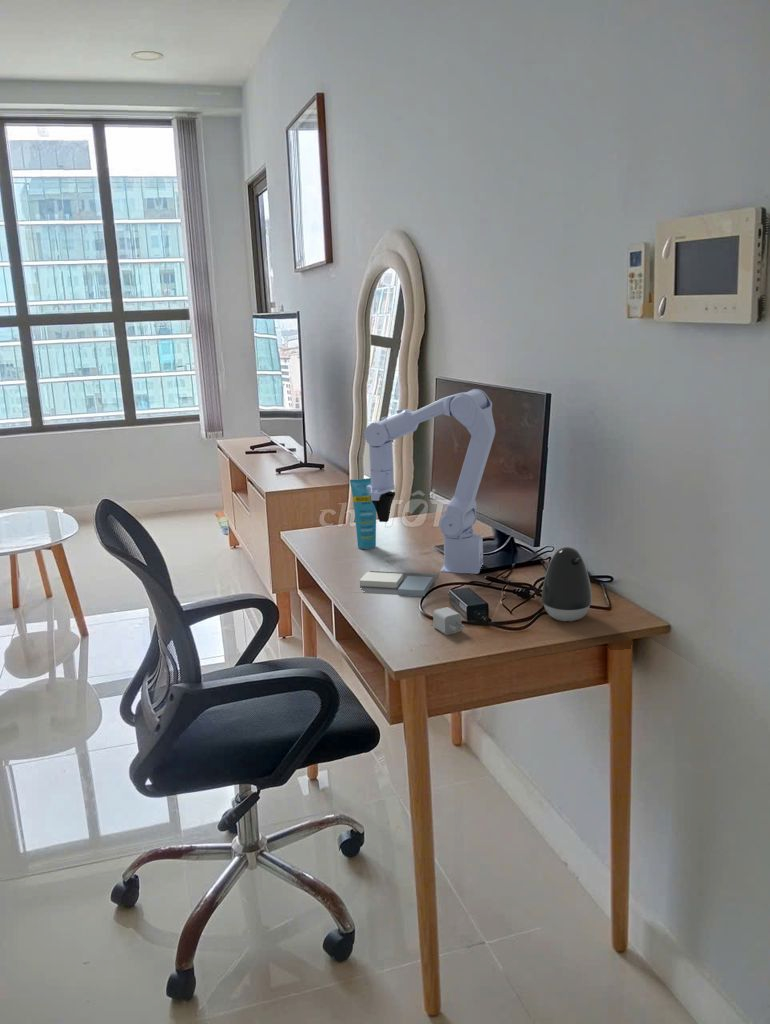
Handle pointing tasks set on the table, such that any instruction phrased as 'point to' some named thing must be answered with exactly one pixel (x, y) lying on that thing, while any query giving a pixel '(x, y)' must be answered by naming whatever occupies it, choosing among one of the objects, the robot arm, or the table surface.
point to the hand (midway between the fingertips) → (383, 521)
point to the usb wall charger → (447, 620)
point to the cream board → (381, 579)
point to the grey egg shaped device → (567, 586)
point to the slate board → (415, 586)
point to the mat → (393, 590)
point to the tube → (364, 513)
